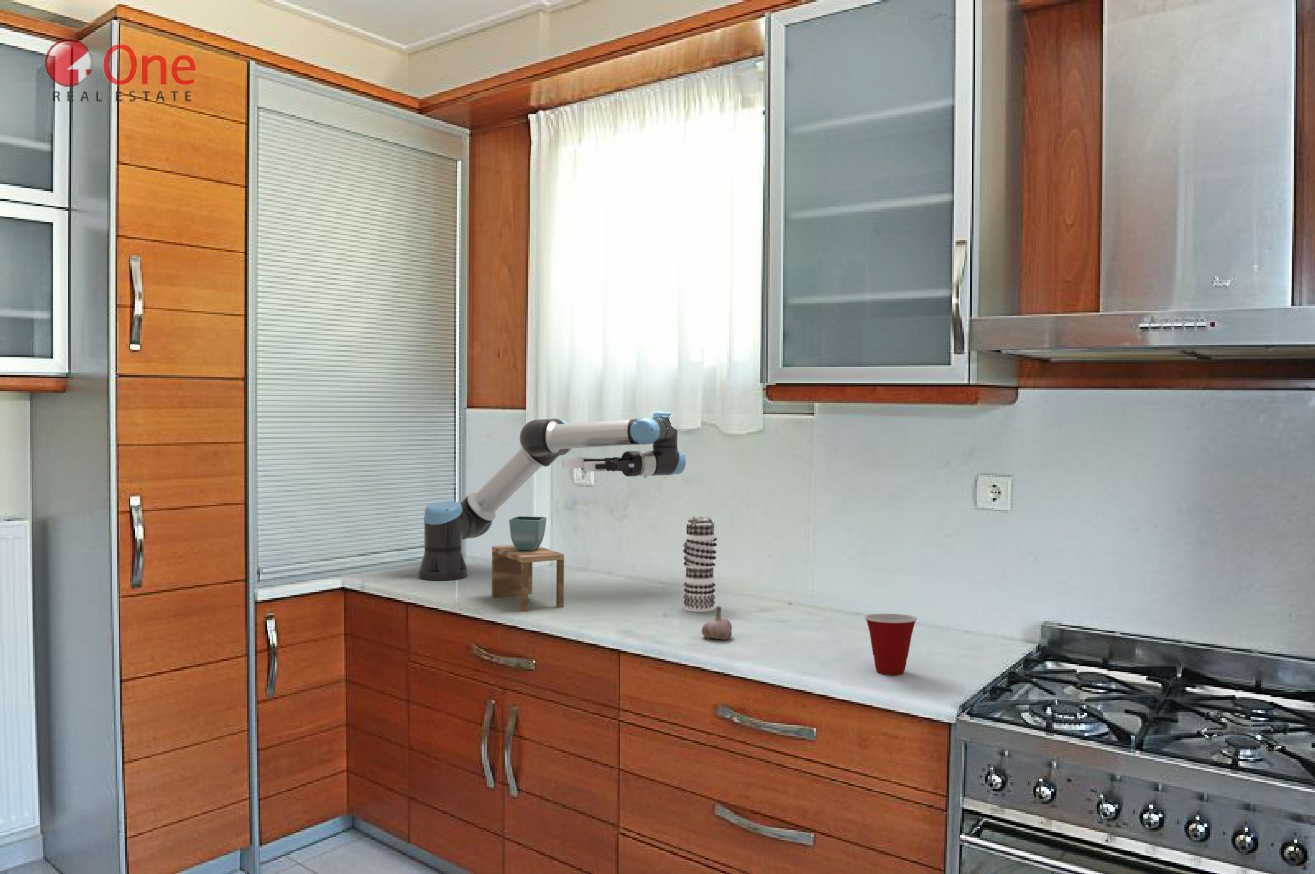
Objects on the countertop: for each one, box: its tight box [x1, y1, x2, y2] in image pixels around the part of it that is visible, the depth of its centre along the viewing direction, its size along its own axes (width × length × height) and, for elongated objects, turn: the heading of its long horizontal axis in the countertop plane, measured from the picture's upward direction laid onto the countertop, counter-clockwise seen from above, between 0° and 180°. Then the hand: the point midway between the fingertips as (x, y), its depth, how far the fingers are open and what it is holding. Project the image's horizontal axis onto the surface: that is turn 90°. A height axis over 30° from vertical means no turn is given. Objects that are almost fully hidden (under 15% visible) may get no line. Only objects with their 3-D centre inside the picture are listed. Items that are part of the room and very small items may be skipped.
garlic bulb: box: [701, 605, 733, 641], centre depth 233 cm, size 8×7×8 cm
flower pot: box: [508, 515, 547, 551], centre depth 274 cm, size 9×9×9 cm
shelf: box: [491, 544, 565, 612], centre depth 273 cm, size 22×12×14 cm, turn 31°
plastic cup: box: [864, 613, 918, 676], centre depth 205 cm, size 11×11×12 cm
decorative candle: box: [682, 516, 718, 613], centre depth 266 cm, size 9×9×25 cm
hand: (573, 465), depth 280 cm, fingers open, 13 cm apart
